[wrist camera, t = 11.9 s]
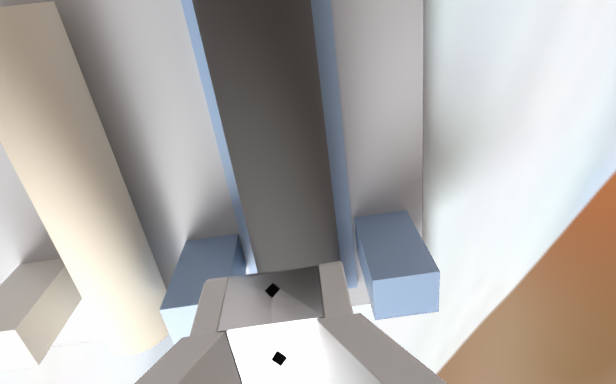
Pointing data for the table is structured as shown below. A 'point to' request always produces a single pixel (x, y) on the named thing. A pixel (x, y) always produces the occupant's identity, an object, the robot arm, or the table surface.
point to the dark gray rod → (273, 126)
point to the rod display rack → (227, 165)
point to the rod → (76, 178)
